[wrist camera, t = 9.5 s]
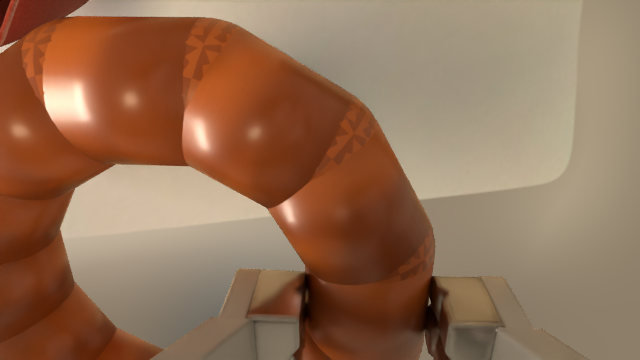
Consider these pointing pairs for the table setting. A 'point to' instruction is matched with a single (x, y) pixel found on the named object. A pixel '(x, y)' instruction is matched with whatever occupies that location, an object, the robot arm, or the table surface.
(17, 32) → the flower pot
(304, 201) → the ring
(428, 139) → the table surface
